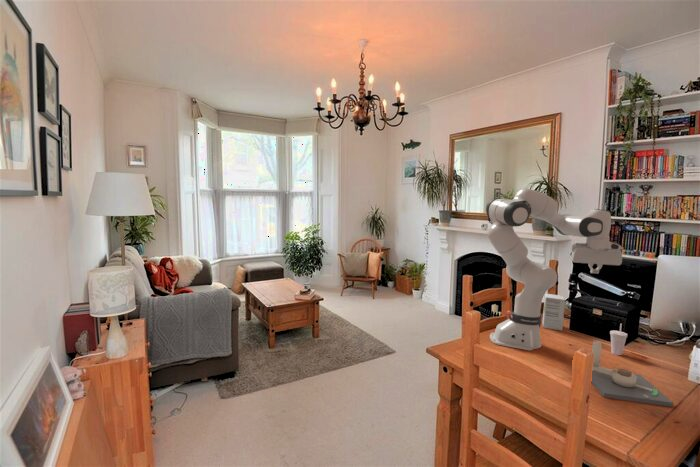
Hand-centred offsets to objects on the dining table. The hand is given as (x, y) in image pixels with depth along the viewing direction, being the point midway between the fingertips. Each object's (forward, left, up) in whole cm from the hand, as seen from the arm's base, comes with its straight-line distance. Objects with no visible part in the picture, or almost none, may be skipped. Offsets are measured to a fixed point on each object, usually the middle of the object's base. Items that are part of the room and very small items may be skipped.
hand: (594, 273), depth 169 cm
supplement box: (-10, +20, -34) cm, 41 cm away
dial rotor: (-5, -43, -32) cm, 54 cm away
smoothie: (+8, -10, -34) cm, 37 cm away
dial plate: (-4, -44, -34) cm, 56 cm away
